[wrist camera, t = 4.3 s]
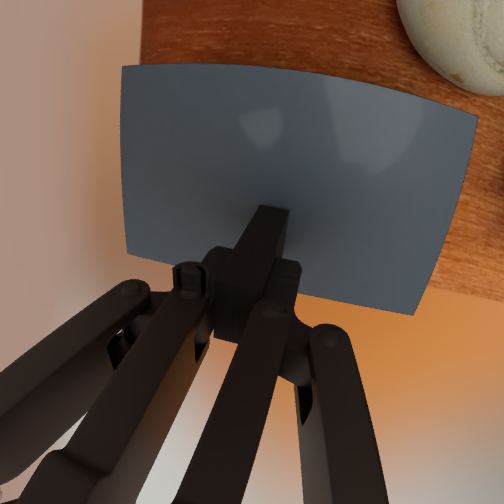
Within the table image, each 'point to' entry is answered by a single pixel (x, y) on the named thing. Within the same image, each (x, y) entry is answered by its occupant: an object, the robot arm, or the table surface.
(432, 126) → the lid
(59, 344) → the robot arm
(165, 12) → the table surface
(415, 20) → the seashell
